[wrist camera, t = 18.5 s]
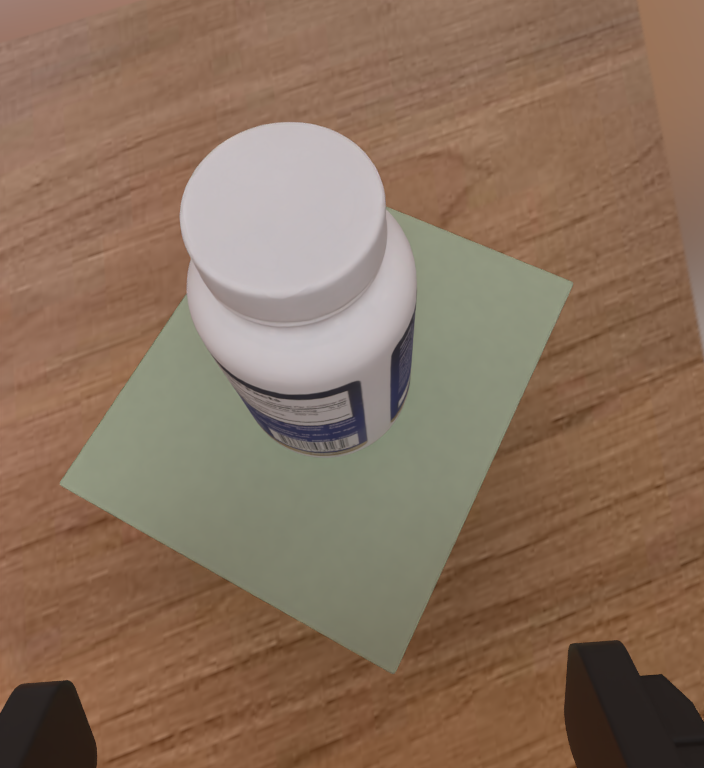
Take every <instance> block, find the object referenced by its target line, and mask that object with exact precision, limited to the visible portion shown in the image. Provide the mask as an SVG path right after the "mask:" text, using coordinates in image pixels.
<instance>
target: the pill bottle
mask: <svg viewBox="0 0 704 768" xmlns="http://www.w3.org/2000/svg"><path fill="white" fill-rule="evenodd" d="M180 226H181V232H182V237H183V241H184V244H185V247H186V249H187V251H188V253H189V255H190V257H191V261H190V264H189V269H188V276H187V299H188V306H189V310H190V314H191V317H192V320H193V323H194V325H195V328H196V330H197V332H198V334H199V336H200V337H201V339H202V341H203V342H204V344H205V346H206V348H207V349H208V351H209V352H210V353H211V355H212V357H213V358H214V360H215V362H216V363H217V364H218V366H219V367H220V369H221V370H222V371H223V373H224V374H225V376H226V377H227V379H228V380H229V382H230V383H231V384H232V386H233V387H234V389H235V390H236V392H237V393H238V395H239V396H240V397H241V399H242V400H243V402H244V404H245V405H246V407H247V408H248V410H249V411H250V413H251V414H252V416H253V417H254V419H255V420H256V422H257V423H258V424H259V426H260V427H261V428H262V429H263V430H264V431H265V432H266V434H267V435H268V436H270V437H271V438H272V439H273V440H274V441H276V442H277V443H278V444H280V445H281V446H283V447H285V448H287V449H289V450H291V451H293V452H296V453H298V454H302V455H306V456H310V457H318V458H333V457H340V456H345V455H348V454H352V453H355V452H357V451H360V450H362V449H364V448H366V447H367V446H369V445H371V444H372V443H374V442H375V441H377V440H378V439H379V438H380V437H382V436H383V435H384V434H385V433H386V432H387V431H388V430H389V428H390V427H391V426H392V425H393V423H394V422H395V421H396V419H397V418H398V416H399V414H400V412H401V410H402V408H403V406H404V404H405V401H406V398H407V394H408V390H409V385H410V377H411V363H412V350H413V337H414V323H415V311H416V298H417V279H416V267H415V261H414V256H413V253H412V250H411V246H410V243H409V241H408V239H407V237H406V236H405V234H404V232H403V230H402V228H401V226H400V225H399V224H398V222H397V221H396V220H395V218H394V217H393V216H392V215H391V214H390V213H389V211H387V210H386V201H385V193H384V187H383V184H382V181H381V178H380V175H379V173H378V171H377V169H376V167H375V166H374V164H373V163H372V161H371V160H370V159H369V157H368V156H367V155H366V153H365V152H364V151H363V150H362V149H361V148H360V147H359V146H357V145H356V144H355V143H354V142H353V141H351V140H350V139H348V138H346V137H345V136H343V135H341V134H339V133H337V132H335V131H333V130H330V129H328V128H325V127H322V126H318V125H315V124H308V123H301V122H282V123H272V124H265V125H261V126H257V127H254V128H251V129H249V130H246V131H243V132H241V133H239V134H237V135H235V136H233V137H231V138H229V139H228V140H226V141H225V142H223V143H221V144H220V145H218V146H217V147H216V148H215V149H214V150H212V151H211V152H210V153H209V154H208V155H207V156H206V157H205V158H204V159H203V160H202V162H201V163H200V164H199V165H198V167H197V168H196V169H195V171H194V172H193V174H192V176H191V178H190V179H189V181H188V183H187V186H186V188H185V191H184V194H183V197H182V202H181V208H180Z"/></svg>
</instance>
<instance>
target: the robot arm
mask: <svg viewBox="0 0 704 768" xmlns="http://www.w3.org/2000/svg"><path fill="white" fill-rule="evenodd" d="M564 716H565V725H566V731H567V736H568V741H569V745H570V748H571V752H572V755H573V758H574V760H575V763H576V766H577V768H704V722H703V720H702V718H701V717H700V715H699V713H698V711H697V710H696V708H695V706H694V704H693V703H692V702H691V701H690V700H689V699H688V698H687V697H686V696H685V695H684V694H683V693H682V692H681V691H679V690H678V689H677V688H676V687H675V686H674V685H673V684H672V683H671V682H670V681H669V680H668V679H667V678H665V677H664V676H663V675H662V674H659V675H645V676H640V675H639V673H638V671H637V669H636V667H635V665H634V663H633V661H632V659H631V657H630V655H629V654H628V652H627V650H626V648H625V646H624V645H623V644H622V643H621V642H620V641H618V640H613V641H600V642H587V643H574V644H570V646H569V650H568V662H567V676H566V690H565V705H564ZM96 766H97V747H96V742H95V739H94V736H93V734H92V731H91V728H90V726H89V723H88V720H87V718H86V715H85V712H84V710H83V707H82V704H81V702H80V699H79V696H78V694H77V691H76V688H75V686H74V684H73V683H72V682H71V681H68V680H65V681H52V682H39V683H26V684H21V685H19V686H18V687H16V688H15V689H14V691H13V692H12V693H11V695H10V697H9V698H8V700H7V702H6V704H5V706H4V708H3V709H2V711H1V713H0V768H96Z"/></svg>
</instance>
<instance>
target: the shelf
mask: <svg viewBox="0 0 704 768" xmlns="http://www.w3.org/2000/svg"><path fill="white" fill-rule="evenodd" d="M386 210H387V211H389V213H390V214H391V215H392V216H393V217H394V218H395V220H396V221H397V222H398V224H399V225H400V226H401V228H402V230H403V232H404V234H405V236H406V237H407V239H408V241H409V243H410V246H411V250H412V253H413V256H414V261H415V267H416V279H417V298H416V311H415V323H414V337H413V350H412V363H411V377H410V385H409V390H408V394H407V398H406V401H405V404H404V406H403V408H402V410H401V412H400V414H399V416H398V418H397V419H396V421H395V422H394V423H393V425H392V426H391V427H390V428H389V430H388V431H387V432H386V433H385V434H384V435H383V436H382V437H380V438H379V439H378V440H377V441H375V442H374V443H372V444H371V445H369V446H367V447H366V448H364V449H362V450H360V451H357V452H355V453H352V454H348V455H345V456H340V457H333V458H318V457H310V456H306V455H302V454H298V453H296V452H293V451H291V450H289V449H287V448H285V447H283V446H281V445H280V444H278V443H277V442H276V441H274V440H273V439H272V438H271V437H270V436H268V435H267V434H266V432H265V431H264V430H263V429H262V428H261V427H260V426H259V424H258V423H257V422H256V420H255V419H254V417H253V416H252V414H251V413H250V411H249V410H248V408H247V407H246V405H245V404H244V402H243V400H242V399H241V397H240V396H239V395H238V393H237V392H236V390H235V389H234V387H233V386H232V384H231V383H230V382H229V380H228V379H227V377H226V376H225V374H224V373H223V371H222V370H221V369H220V367H219V366H218V364H217V363H216V362H215V360H214V358H213V357H212V355H211V353H210V352H209V351H208V349H207V348H206V346H205V344H204V342H203V341H202V339H201V337H200V336H199V334H198V332H197V330H196V328H195V325H194V323H193V320H192V317H191V314H190V310H189V306H188V299H187V294H186V295H185V297H184V298H183V300H182V301H181V303H180V304H179V306H178V307H177V309H176V310H175V312H174V313H173V315H172V316H171V318H170V319H169V321H168V322H167V323H166V325H165V326H164V328H163V329H162V331H161V332H160V334H159V335H158V337H157V338H156V340H155V341H154V343H153V344H152V346H151V347H150V349H149V350H148V352H147V353H146V355H145V356H144V358H143V359H142V361H141V362H140V364H139V365H138V367H137V368H136V370H135V371H134V373H133V374H132V376H131V377H130V379H129V380H128V382H127V383H126V385H125V386H124V388H123V389H122V391H121V392H120V394H119V395H118V397H117V398H116V400H115V401H114V402H113V404H112V405H111V407H110V408H109V410H108V411H107V413H106V414H105V416H104V417H103V419H102V420H101V422H100V423H99V425H98V426H97V428H96V429H95V431H94V432H93V434H92V435H91V437H90V438H89V440H88V441H87V443H86V444H85V446H84V447H83V449H82V450H81V452H80V453H79V455H78V456H77V458H76V459H75V461H74V462H73V464H72V465H71V467H70V468H69V470H68V471H67V473H66V474H65V476H64V477H63V479H62V480H61V482H60V485H61V486H62V487H64V488H66V489H67V490H69V491H71V492H73V493H75V494H76V495H78V496H80V497H82V498H83V499H85V500H87V501H89V502H90V503H92V504H94V505H96V506H97V507H99V508H101V509H103V510H104V511H106V512H108V513H110V514H111V515H113V516H115V517H117V518H119V519H120V520H122V521H124V522H126V523H127V524H129V525H131V526H133V527H134V528H136V529H138V530H140V531H141V532H143V533H145V534H147V535H148V536H150V537H152V538H154V539H155V540H157V541H159V542H161V543H163V544H164V545H166V546H168V547H170V548H171V549H173V550H175V551H177V552H178V553H180V554H182V555H184V556H185V557H187V558H189V559H191V560H192V561H194V562H196V563H198V564H199V565H201V566H203V567H205V568H207V569H208V570H210V571H212V572H214V573H215V574H217V575H219V576H221V577H222V578H224V579H226V580H228V581H229V582H231V583H233V584H235V585H236V586H238V587H240V588H242V589H243V590H245V591H247V592H249V593H251V594H252V595H254V596H256V597H258V598H259V599H261V600H263V601H265V602H266V603H268V604H270V605H272V606H273V607H275V608H277V609H279V610H280V611H282V612H284V613H286V614H287V615H289V616H291V617H293V618H295V619H296V620H298V621H300V622H302V623H303V624H305V625H307V626H309V627H310V628H312V629H314V630H316V631H317V632H319V633H321V634H323V635H324V636H326V637H328V638H330V639H331V640H333V641H335V642H337V643H339V644H340V645H342V646H344V647H346V648H347V649H349V650H351V651H353V652H354V653H356V654H358V655H360V656H361V657H363V658H365V659H367V660H368V661H370V662H372V663H374V664H376V665H377V666H379V667H381V668H383V669H384V670H386V671H388V672H390V673H391V674H394V673H395V672H396V671H397V668H398V666H399V664H400V662H401V660H402V658H403V655H404V653H405V651H406V649H407V647H408V644H409V642H410V640H411V638H412V636H413V634H414V631H415V629H416V627H417V625H418V623H419V620H420V618H421V616H422V614H423V612H424V609H425V607H426V605H427V603H428V601H429V599H430V596H431V594H432V592H433V590H434V588H435V585H436V583H437V581H438V579H439V577H440V575H441V572H442V570H443V568H444V566H445V564H446V561H447V559H448V557H449V555H450V553H451V551H452V548H453V546H454V544H455V542H456V540H457V537H458V535H459V533H460V531H461V529H462V526H463V524H464V522H465V520H466V518H467V516H468V513H469V511H470V509H471V507H472V505H473V502H474V500H475V498H476V496H477V494H478V492H479V489H480V487H481V485H482V483H483V481H484V478H485V476H486V474H487V472H488V470H489V468H490V465H491V463H492V461H493V459H494V457H495V454H496V452H497V450H498V448H499V446H500V444H501V441H502V439H503V437H504V435H505V433H506V430H507V428H508V426H509V424H510V422H511V419H512V417H513V415H514V413H515V411H516V409H517V406H518V404H519V402H520V400H521V398H522V395H523V393H524V391H525V389H526V387H527V385H528V382H529V380H530V378H531V376H532V374H533V371H534V369H535V367H536V365H537V363H538V361H539V358H540V356H541V354H542V352H543V350H544V347H545V345H546V343H547V341H548V339H549V336H550V334H551V332H552V330H553V328H554V326H555V323H556V321H557V319H558V317H559V315H560V312H561V310H562V308H563V306H564V304H565V302H566V299H567V297H568V295H569V293H570V291H571V288H572V286H573V282H571V281H569V280H567V279H564V278H562V277H559V276H557V275H554V274H552V273H549V272H547V271H544V270H542V269H539V268H537V267H534V266H532V265H529V264H527V263H525V262H522V261H520V260H517V259H515V258H512V257H510V256H507V255H505V254H502V253H500V252H497V251H495V250H492V249H490V248H487V247H485V246H483V245H480V244H478V243H475V242H473V241H470V240H468V239H465V238H463V237H460V236H458V235H455V234H453V233H450V232H448V231H446V230H443V229H441V228H438V227H436V226H433V225H431V224H428V223H426V222H423V221H421V220H418V219H416V218H413V217H411V216H408V215H406V214H404V213H401V212H399V211H396V210H394V209H391V208H389V207H386Z"/></svg>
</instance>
